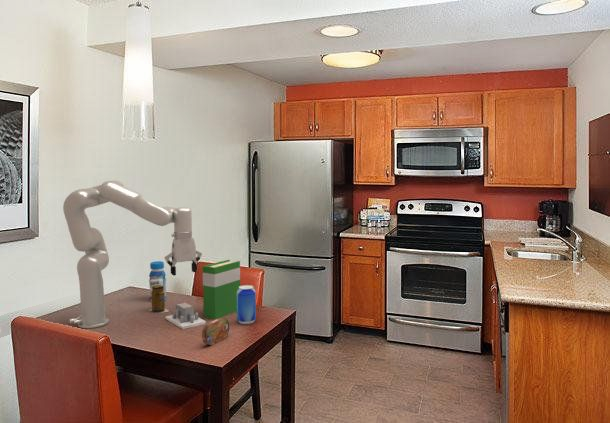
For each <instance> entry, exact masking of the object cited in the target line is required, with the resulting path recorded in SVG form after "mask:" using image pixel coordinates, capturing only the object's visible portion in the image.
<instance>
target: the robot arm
mask: <svg viewBox="0 0 610 423" xmlns="http://www.w3.org/2000/svg"><path fill="white" fill-rule="evenodd" d="M106 203H112V204H115V205H116V206H119V207H120V208H123V209H125V210H127V211H130V212H132V213H133V214H134V215H136V216H137V217H138V218H141V219H142V220H145V221H146V222H149V223H152V224H153V225H156V226H160V227H164V226H165V227H166V226H167V225H169V224H173V227H174V228H173V230H174V231H173V233H171V237H172V238H173V239H172V243H171V252H170V253H168V254H167V255H166V256H164V258H163V259H164V260H165V261H166V263H167V264H168V265H169V266H170V274H171V275H172V276H176V275H177V270H176V269H177V268H176V264H177V263H183V262H184V263H185V262H191V272H192V273H197V268H198V266H197V264H198V263H199V261H200V259H201V257H202V254H203V253H202V252H200V251H198V250H197V247H196V242H195V238H194V237H193V228H192V223H193V222H192V209H191V208H189V207H170V206H164V207H160V206H157V205H155V204H154V203H151V202H150V201H148V200H146V199H145V198H144V197H143V196H142V194H140V193H139V192H137V191H135V190H132V189H130V188H129V187H126V186H125V185H124V184H123V183H122V182H120V181H119V180H107V181H104V182H103V183H101V184H99V185H96V186H95V185H94V186H93V187H89V188H80V189H77V190H73V191H72V192H70V194H68V196H66V198H65V200H64V201H63V207H62V208H63V209H62V210H63V215H64V217H65V222H66V224H67V227H68V231H69V235H70V238H71V241H72V245H73V247H74V249H75V250H77V252H84V253H85V255H82V256H81V257H80V258H79V259H78V262H77V265H76V270H77V275H78V282H79V296H80V299H79V300H80V314H79V316H77V317H73V318H69V322H68V323H69V324H74V325H75V324H77V327H78V328H81V329H94V328H95V329H96V328H101V327H104V326H106V325H107V324H108V323H109V318H108V317H106V315H105V314H106V311H105V292H104V290H105V289H104V288H105V287H104V279H103V274H102V271H103V270H104V269H106V268H107V266H109V262H110V257H109V253H108V249H107V246H106V243H105V239H104V237H103V235H102V233H101V231H100V230H99V229H97V228H95V227H91V224H90V220H89V217H88V215H87V214H86V211H85V210H86V209H89V208H93V207H94V208H95V207H97V206H100V205H103V204H106ZM170 258H171V260H170Z"/></svg>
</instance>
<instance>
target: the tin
mask: <svg viewBox="0 0 610 423" xmlns="http://www.w3.org/2000/svg"><path fill="white" fill-rule="evenodd" d="M229 331H230V322H229V320H228V319H227V317H221V318H218V319H216V320H215V319H213V320H212V321H210V322H208V323H206V324H204V327H203V328H202V332H201V338H202V339H201V340H202V342H203V343H204V344H206V345H208V346H209V345H210V346H214V345H216V344H218V343H219V342H221V341H222V340H224V339H226V338H227V337H228V335H229Z"/></svg>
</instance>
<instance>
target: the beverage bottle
mask: <svg viewBox="0 0 610 423" xmlns="http://www.w3.org/2000/svg"><path fill="white" fill-rule="evenodd" d="M149 265H150V266H149V267H150V273H149V279H148V282H149V300H150V302H152V294H151V293H152V287H153V286H155V285H162V286H163V289H164V290H163V291H164V293H165V301H166V300H167V278H166V272H165V270H164V268H165V262H164V261H162V260H161V261H160V260H159V261H157V260H156V261H151V262H150V264H149Z"/></svg>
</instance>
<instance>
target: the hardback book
mask: <svg viewBox="0 0 610 423" xmlns="http://www.w3.org/2000/svg"><path fill="white" fill-rule="evenodd" d="M239 286H241V261H240V260H237V261H231V260H230V259H225V260H221V261H218V262H213V263H210V264H206V265H202V295H203V296H202V297H203V298H202V299H203V301H202V303H203V305H202V306H203V307H202V308H203V318H207V319H210V320H211V319H212V320H216V319H218V318H224V317H226V316H228V315H230V314H233V313H235V312H236V313H237V291H238V289H239Z"/></svg>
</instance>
